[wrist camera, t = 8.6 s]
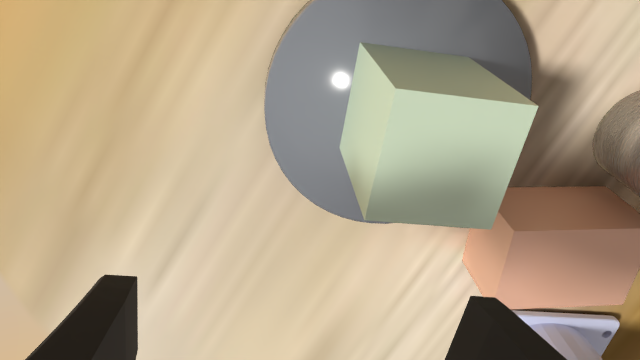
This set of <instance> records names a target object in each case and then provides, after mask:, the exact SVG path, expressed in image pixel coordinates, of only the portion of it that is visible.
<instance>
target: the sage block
mask: <svg viewBox="0 0 640 360" xmlns="http://www.w3.org/2000/svg"><path fill="white" fill-rule="evenodd" d="M537 109H538V105H536V104H535V103H534V102H532V101H531V100H529V99H528V98H526V97H525V96H524V95H522V94H521V93H519V92H518V91H516V90H515V89H514V88H512V87H511V86H509V85H508V84H506V83H505V82H503V81H502V80H501V79H499V78H498V77H496V76H495V75H493V74H492V73H491V72H489V71H488V70H486V69H485V68H483V67H482V66H481V65H479V64H478V63H476V62H475V61H473V60H472V59H471V58H469V57H464V56H457V55H449V54H442V53H435V52H428V51H420V50H413V49H406V48H399V47H391V46H384V45H377V44H370V43H363V42H360V44H359V50H358V55H357V60H356V65H355V70H354V75H353V81H352V86H351V91H350V96H349V101H348V106H347V112H346V117H345V122H344V127H343V132H342V137H341V142H340V151H341V154H342V157H343V160H344V162H345V165H346V168H347V171H348V174H349V177H350V180H351V183H352V186H353V189H354V192H355V195H356V197H357V200H358V203H359V206H360V209H361V212H362V215H363V218H364V220H366V221H380V222H393V223H407V224H420V225H434V226H447V227H461V228H474V229H488V230H491V229H492V226H493V223H494V221H495V218H496V216H497V213H498V210H499V208H500V205H501V203H502V200H503V197H504V195H505V192H506V190H507V187H508V184H509V182H510V179H511V177H512V174H513V171H514V169H515V166H516V164H517V161H518V158H519V156H520V153H521V151H522V148H523V145H524V143H525V140H526V138H527V135H528V132H529V130H530V127H531V125H532V122H533V119H534V117H535V114H536V112H537Z"/></svg>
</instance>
